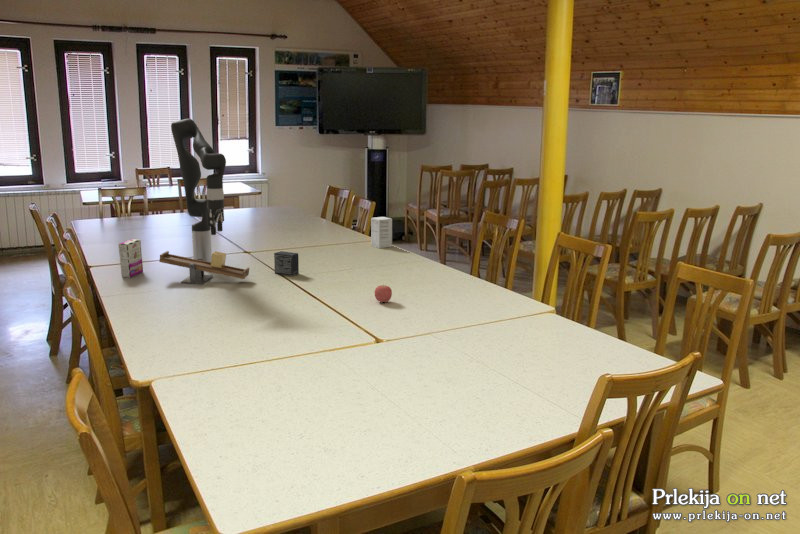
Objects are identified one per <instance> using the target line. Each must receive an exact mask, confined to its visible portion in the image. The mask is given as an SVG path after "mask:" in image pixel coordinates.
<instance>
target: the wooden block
mask: <svg viewBox="0 0 800 534" xmlns="http://www.w3.org/2000/svg"><path fill="white" fill-rule="evenodd" d="M226 258H227V253H226V252H221V251H214V252H213V253H212V259H211V267H213V268H218V269H223V268H225V265H226V260H227V259H226Z"/></svg>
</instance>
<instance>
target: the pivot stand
mask: <svg viewBox="0 0 800 534" xmlns="http://www.w3.org/2000/svg"><path fill="white" fill-rule="evenodd" d="M198 260H201V261H203V259H198ZM188 269H189V276H187V277H186V278H184V279H182V280H181V281H180V284H182V285H201V286H203V285H204V284H205V283H207V282H208V281H210V280H211V279H213V277H214V274H205V271H201V270H196V269H195V264H189V268H188Z"/></svg>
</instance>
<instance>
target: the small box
mask: <svg viewBox="0 0 800 534" xmlns="http://www.w3.org/2000/svg"><path fill="white" fill-rule="evenodd" d="M273 255H274V257H273V258H274V274H275V275H282V276H289V277H294V276H295V275H296V276H297V275H298V274H300V272H299V252H298V253H297V252H290V251H281V250H280V251H277V252H274V253H273Z"/></svg>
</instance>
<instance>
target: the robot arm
mask: <svg viewBox="0 0 800 534" xmlns="http://www.w3.org/2000/svg"><path fill="white" fill-rule="evenodd" d="M170 127H171V128H170V131H171V134H172V138H173V141H174V145H175V149H176V152H177V157H178V162H179V169H180V174H181V179H182V181H183V183H182V184H183V188H184V193H185V203H186V209H187V213H188V216H190V217H194V218H201V220H200V221H199V222H198V221H197V222H196V223H193V224H191V235H192V236H191V239H192V255H193V256H192V259H196V260H198V259H203V261H206V262H211V259H212V254H213V253H212V251H213V250H212V236H216V235H217V232H223V223H224V221H225V214H224V213H225V211H224V210H225V196H224V195H225V192H224V183H223V182H224V181H223V180H224V179H223V178H224V174H225V169H226V165H227V159H226V157H225V155H224V154H223V153H215V151H214V148H213V147H212V146H211V145H210V144H209V142H207V141H206V139H205V137H204V135H203V134H202V132H201V130H200V128H199V127H198V125H197V124H196V122H195V120H193V119H192V118H184V119H180V120H176V121H172V123H171V125H170ZM189 139H193V143H192V148H193V151H194V152H195V154H196V155H197V156H198V158H199V159H200V160H199V161H200V162H201V165H200V162H199V161H198V159H197V158H196V157H195V156H194V155H193V154H192V153H191V152H189V150H188V149H187V148H186V146H185V144H184V141H186V140H189ZM200 166H202V167H203V168H204V169H205V170H207V171H208V170H209V171H210V170H214V173H211V174H209V175H207V177H206V198H196V197H195V191H196V188H197V186H198V185H199V183H200V180H201V178H202V171H201V167H200Z"/></svg>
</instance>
